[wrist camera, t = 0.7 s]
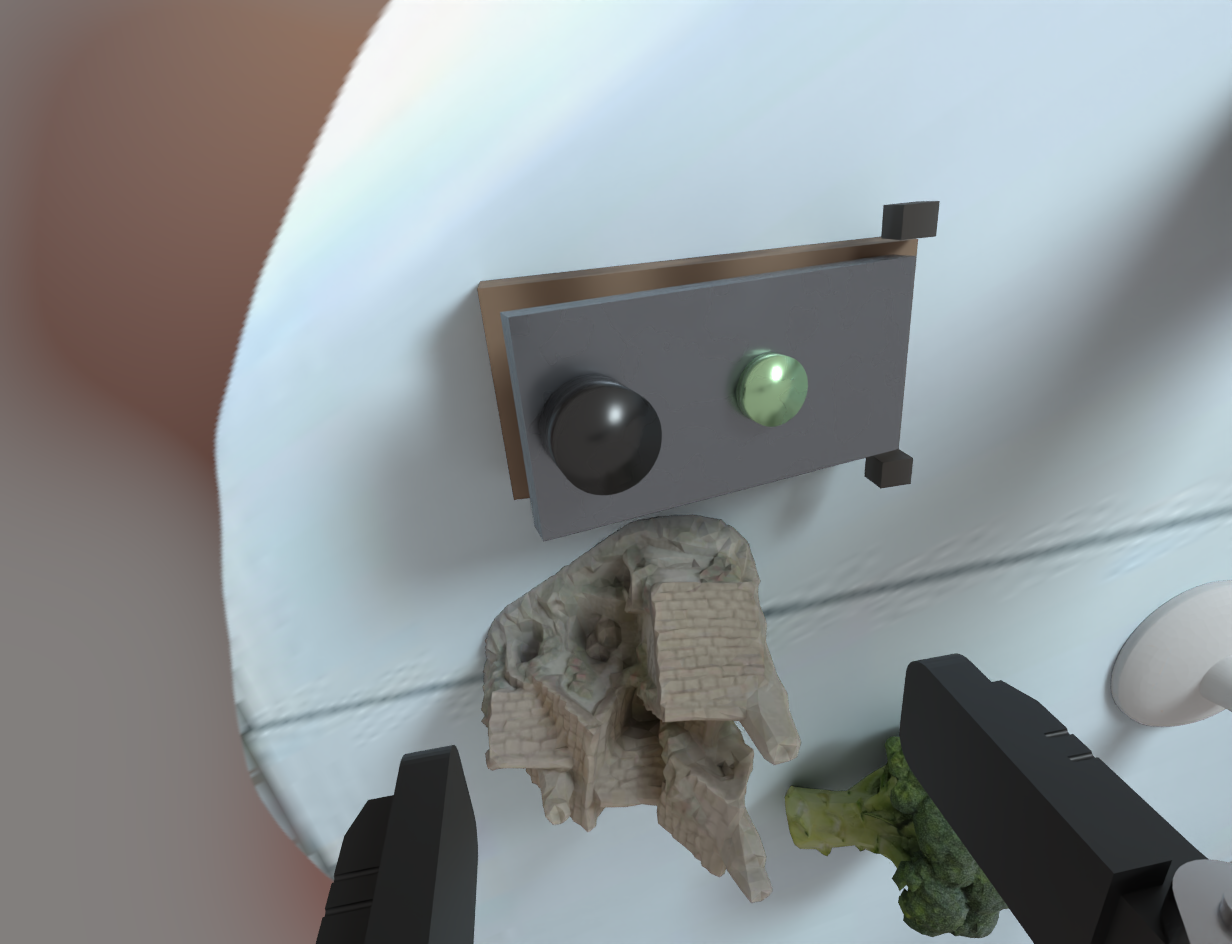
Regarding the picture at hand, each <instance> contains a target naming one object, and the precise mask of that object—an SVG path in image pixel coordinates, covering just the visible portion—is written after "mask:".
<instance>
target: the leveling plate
mask: <svg viewBox="0 0 1232 944" xmlns="http://www.w3.org/2000/svg"><path fill="white" fill-rule="evenodd" d="M915 265H916V256H910V255H892V254H890V255H884V256H877V257H870V258H863V259H857V260H850V261H843V262H836V263H830V264H823V265H816V266H809V267H803V268H796V269H789V270H782V271H775V272H769V273H762V274H755V275H748V276H742V277H735V278H728V279H721V280H715V281H708V282H701V283H694V284H688V285H681V286H674V287H667V288H661V289H654V290H647V291H640V292H633V293H627V294H620V295H613V296H606V297H600V298H593V299H586V300H579V301H573V302H566V303H559V304H552V305H546V306H539V307H532V308H525V309H519V310H512V311H505V312H500V316H501V322H502V328H503V334H504V340H505V347H506V353H507V359H508V365H509V371H510V377H511V384H512V390H513V396H514V402H515V408H516V414H517V420H518V427H519V433H520V439H521V445H522V451H523V457H524V464H525V470H526V476H527V482H528V488H529V494H530V501H531V507H532V513H533V519H534V525H535V528H536V529H537V531H538V533H539V534H540V536H541V538H542V540H543V541H547V540H551V539H555V538H559V537H562V536H566V535H570V534H574V533H578V532H582V531H585V530H589V529H593V528H597V527H601V526H605V525H608V524H612V523H616V522H620V521H624V520H628V519H631V518H635V517H639V516H643V515H647V514H651V513H655V512H658V511H662V510H666V509H670V508H674V507H678V506H681V505H685V504H689V503H693V502H697V501H701V500H704V499H708V498H712V497H716V496H720V495H724V494H727V493H731V492H735V491H739V490H743V489H747V488H751V487H754V486H758V485H762V484H766V483H770V482H774V481H777V480H781V479H785V478H789V477H793V476H797V475H800V474H804V473H808V472H812V471H816V470H820V469H823V468H827V467H831V466H835V465H839V464H843V463H847V462H850V461H854V460H858V459H862V458H866V457H870V456H873V455H877V454H881V453H885V452H889V451H893V450H896V449H899V439H900V428H901V417H902V406H903V395H904V384H905V374H906V363H907V352H908V341H909V330H910V319H911V309H912V298H913V287H914V276H915Z"/></svg>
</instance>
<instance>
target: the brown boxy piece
mask: <svg viewBox="0 0 1232 944" xmlns="http://www.w3.org/2000/svg"><path fill="white" fill-rule="evenodd" d="M939 202H940V201H921V202H909V203H899V204H890V205H884V207H883V221H882V236H881V237H874V238H865V239H856V240H847V241H838V242H829V243H820V244H811V245H802V246H793V247H784V248H775V249H766V250H757V251H748V252H740V253H731V254H722V255H713V256H704V257H695V258H686V259H677V260H668V261H659V262H650V263H641V264H632V265H623V266H614V267H605V268H596V269H587V270H578V271H569V272H560V273H551V274H542V275H533V276H524V277H515V278H506V279H497V280H489V281H480V284H479V286H478V288H477V290H478V296H479V302H480V307H481V313H482V319H483V325H484V330H485V336H486V342H487V348H488V353H489V359H490V365H491V371H492V376H493V382H494V388H495V394H496V399H497V405H498V411H499V417H500V422H501V428H502V434H503V440H504V445H505V451H506V457H507V463H508V468H509V474H510V480H511V486H512V491H513V497H514V500H517V499H524V498H530V494H529V488H528V482H527V476H526V470H525V464H524V457H523V451H522V445H521V439H520V433H519V427H518V420H517V414H516V408H515V402H514V396H513V390H512V384H511V377H510V371H509V365H508V359H507V353H506V347H505V340H504V334H503V328H502V322H501V316H500V312H505V311H512V310H519V309H525V308H532V307H539V306H546V305H552V304H559V303H566V302H573V301H579V300H586V299H593V298H600V297H606V296H613V295H620V294H627V293H633V292H640V291H647V290H654V289H661V288H667V287H674V286H681V285H688V284H694V283H701V282H708V281H715V280H721V279H728V278H735V277H742V276H748V275H755V274H762V273H769V272H775V271H782V270H789V269H796V268H803V267H809V266H816V265H823V264H830V263H836V262H843V261H850V260H857V259H863V258H870V257H877V256H884V255H890V254H892V255H910V256H917V245H918V239H916V238H925V237H934V236H936V231H937V221H938V211H939ZM915 266H916V265H915ZM914 277H915V276H914ZM913 288H914V287H913ZM912 299H913V298H912ZM911 310H912V309H911ZM910 321H911V319H910ZM909 331H910V330H909ZM908 342H909V341H908ZM907 353H908V352H907ZM906 364H907V363H906ZM905 375H906V374H905ZM904 385H905V384H904ZM903 396H904V395H903ZM902 407H903V406H902ZM901 418H902V417H901ZM900 429H901V428H900ZM899 440H900V439H899ZM912 464H913V458H912V457H910V456H909V455H907V454H905V453H904V452H902V451H901V450H899V449H896V450H893V451H889V452H885V453H881V454H877V455H873V456H870V457H866V462H865V477H866V478H868V479H869V480H870V481H872V482H873V483H874V484H876V485H877V486H878V487H880V488H886V487H893V486H899V485H906V484H911V474H912Z"/></svg>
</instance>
